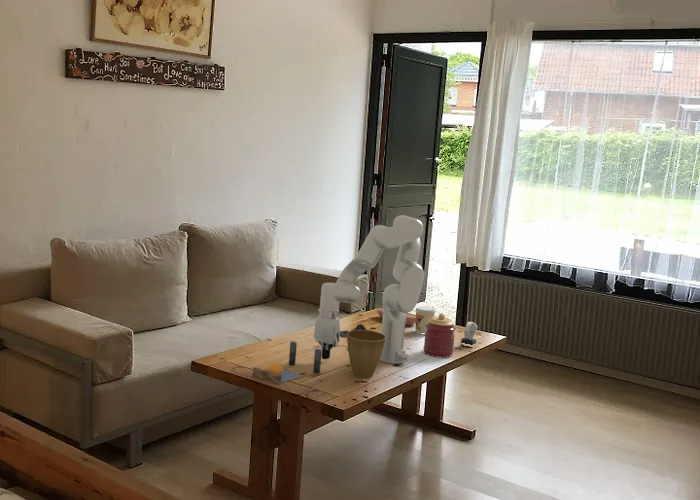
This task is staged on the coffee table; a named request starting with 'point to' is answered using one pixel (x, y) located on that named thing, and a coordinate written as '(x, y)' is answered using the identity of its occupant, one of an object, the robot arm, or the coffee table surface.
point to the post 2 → (317, 361)
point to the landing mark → (288, 376)
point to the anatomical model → (409, 317)
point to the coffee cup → (423, 317)
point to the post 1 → (292, 353)
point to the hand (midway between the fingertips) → (325, 358)
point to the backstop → (267, 375)
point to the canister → (439, 336)
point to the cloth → (359, 327)
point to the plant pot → (365, 351)
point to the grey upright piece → (469, 333)
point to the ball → (275, 368)
